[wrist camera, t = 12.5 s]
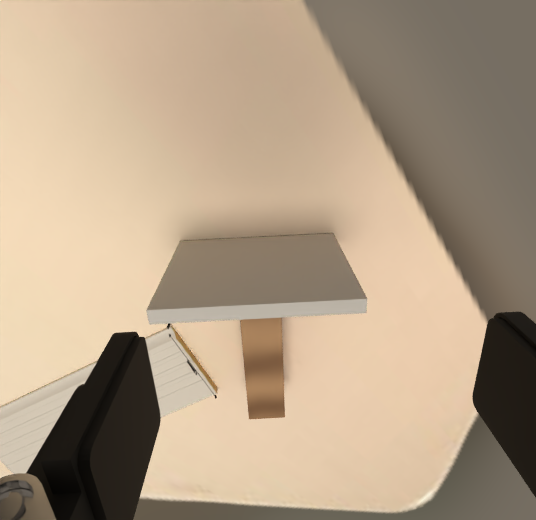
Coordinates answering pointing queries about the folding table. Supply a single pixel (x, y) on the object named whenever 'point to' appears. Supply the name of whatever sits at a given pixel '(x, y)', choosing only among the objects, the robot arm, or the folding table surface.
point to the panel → (256, 280)
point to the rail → (263, 367)
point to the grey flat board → (60, 391)
